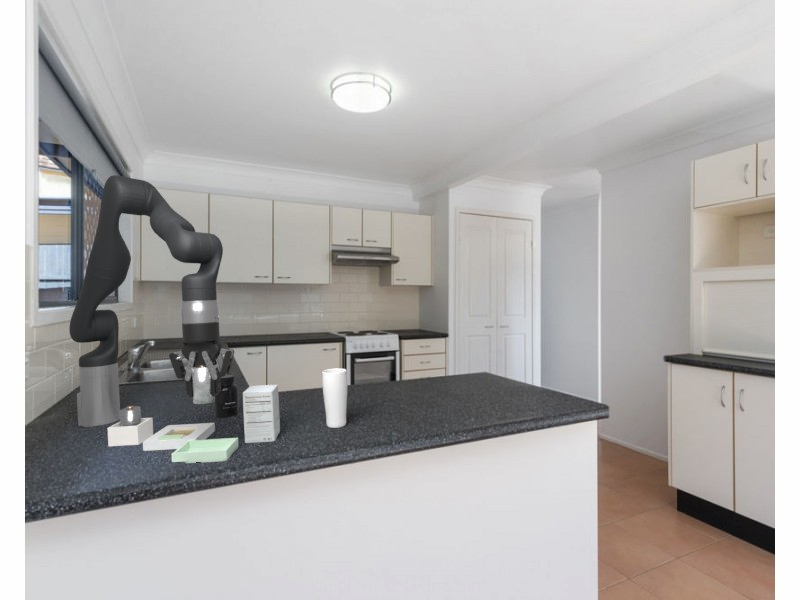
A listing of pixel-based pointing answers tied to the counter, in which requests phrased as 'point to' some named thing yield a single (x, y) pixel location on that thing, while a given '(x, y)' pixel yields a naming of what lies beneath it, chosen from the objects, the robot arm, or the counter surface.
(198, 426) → the frame
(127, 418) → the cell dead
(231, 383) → the supplement bottle
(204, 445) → the trough
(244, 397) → the supplement box
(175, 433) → the contact plate
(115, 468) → the counter surface
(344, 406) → the drinking glass
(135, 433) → the white open box sleeve
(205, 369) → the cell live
